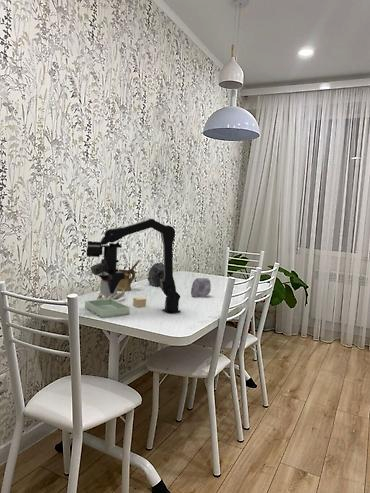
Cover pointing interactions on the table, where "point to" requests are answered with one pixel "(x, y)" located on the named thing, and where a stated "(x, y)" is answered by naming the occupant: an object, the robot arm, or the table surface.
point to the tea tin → (107, 288)
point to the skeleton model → (112, 296)
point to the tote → (107, 308)
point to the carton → (139, 302)
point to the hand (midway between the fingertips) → (108, 292)
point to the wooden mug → (127, 279)
